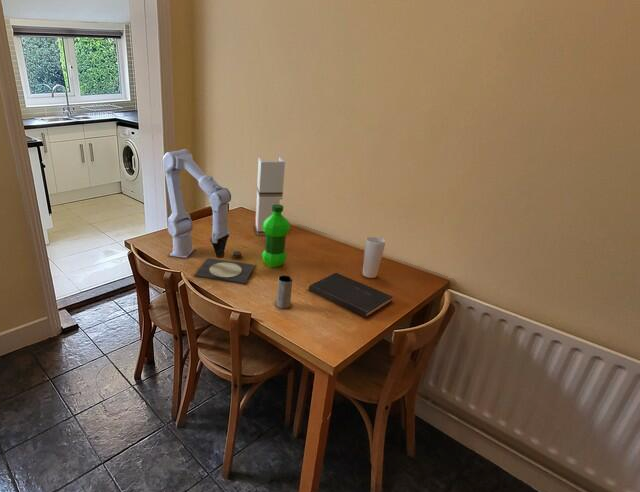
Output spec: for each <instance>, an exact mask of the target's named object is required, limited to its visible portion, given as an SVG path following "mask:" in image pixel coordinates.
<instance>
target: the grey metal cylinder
mask: <svg viewBox="0 0 640 492" xmlns="http://www.w3.org/2000/svg"><path fill="white" fill-rule="evenodd" d="M292 287H293V278H292V276H290V275H279V276H278V280H277V291H276V292H277V295H276V306H277V307H278V308H280V309H289V308H290V307H291V301H292Z"/></svg>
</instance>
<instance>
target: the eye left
mask: <svg viewBox="0 0 640 492" xmlns="http://www.w3.org/2000/svg"><path fill="white" fill-rule="evenodd" d="M225 254H226V252H225V250H224V251H223V250H222V254H221V256H217V255H216V254H215V258H216V259H224V258H225V256H226V255H225Z"/></svg>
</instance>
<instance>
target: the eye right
mask: <svg viewBox="0 0 640 492" xmlns="http://www.w3.org/2000/svg"><path fill="white" fill-rule="evenodd" d="M242 255H243V253H242V252H241V251H238V250H237V251H233V252H232V258H233V259H235V260H240V259H242Z"/></svg>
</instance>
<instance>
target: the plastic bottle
mask: <svg viewBox="0 0 640 492" xmlns="http://www.w3.org/2000/svg"><path fill="white" fill-rule="evenodd" d="M272 211H273V214H272V215H271V216H269V217H268V218H267V219H266V220H265V221H264V223H263V231H264V232H265V233H266V235H264V236H265V239H264V250H263V251H262V253H261V258H262V260H263V262H264V264H266V265H267V266H268V267H270V268H279V267H280V266H281V265H283V264H284V263H285V261H286V260H287V256H288V255H287V252H286V250H285V249H286V238H287V234H288V233H289V232H290V228H291V224H290V221H288V219H287V218H286V217H285V216H283V214H282V212H284V206H283V204H279V205H278V204H275V205H273V206H272Z"/></svg>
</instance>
